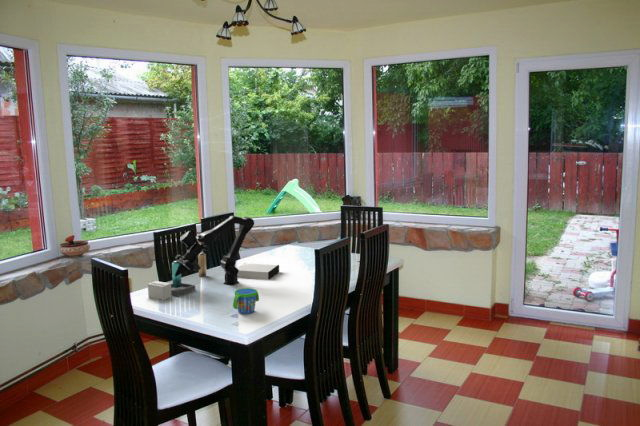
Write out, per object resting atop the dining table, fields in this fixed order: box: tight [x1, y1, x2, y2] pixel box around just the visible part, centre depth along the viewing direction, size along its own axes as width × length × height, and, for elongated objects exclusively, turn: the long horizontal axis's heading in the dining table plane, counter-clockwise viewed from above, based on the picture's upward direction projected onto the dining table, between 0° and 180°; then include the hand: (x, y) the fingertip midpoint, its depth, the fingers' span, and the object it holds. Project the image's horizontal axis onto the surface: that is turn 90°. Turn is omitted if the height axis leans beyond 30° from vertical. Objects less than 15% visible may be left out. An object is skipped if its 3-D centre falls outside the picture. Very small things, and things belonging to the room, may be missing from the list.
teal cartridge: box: [171, 260, 182, 288], centre depth 272 cm, size 4×4×14 cm
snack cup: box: [232, 287, 260, 315], centre depth 240 cm, size 16×10×10 cm
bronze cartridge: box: [197, 252, 207, 278], centre depth 303 cm, size 4×4×14 cm
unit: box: [147, 280, 173, 301], centre depth 263 cm, size 10×6×7 cm, turn 63°
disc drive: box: [236, 262, 280, 280], centre depth 307 cm, size 18×22×5 cm
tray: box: [171, 282, 196, 297], centre depth 273 cm, size 13×13×3 cm
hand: (174, 275), depth 271 cm, fingers closed on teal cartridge, 4 cm apart
